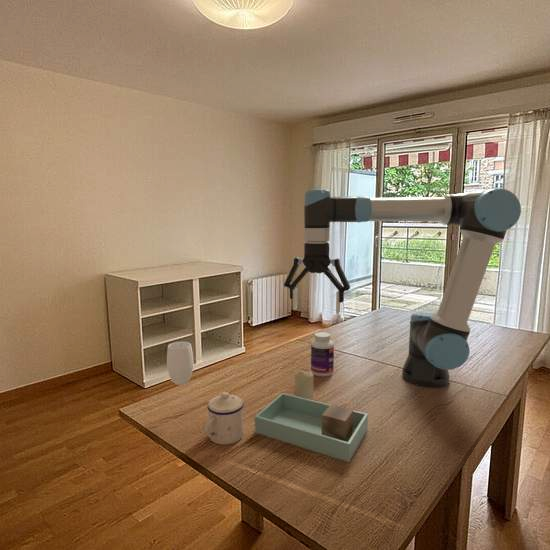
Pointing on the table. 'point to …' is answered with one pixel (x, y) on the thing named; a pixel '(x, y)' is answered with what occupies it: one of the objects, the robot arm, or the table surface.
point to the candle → (304, 384)
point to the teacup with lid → (225, 419)
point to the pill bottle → (322, 355)
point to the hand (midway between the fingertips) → (316, 311)
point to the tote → (307, 426)
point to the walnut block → (337, 423)
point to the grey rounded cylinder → (180, 362)
